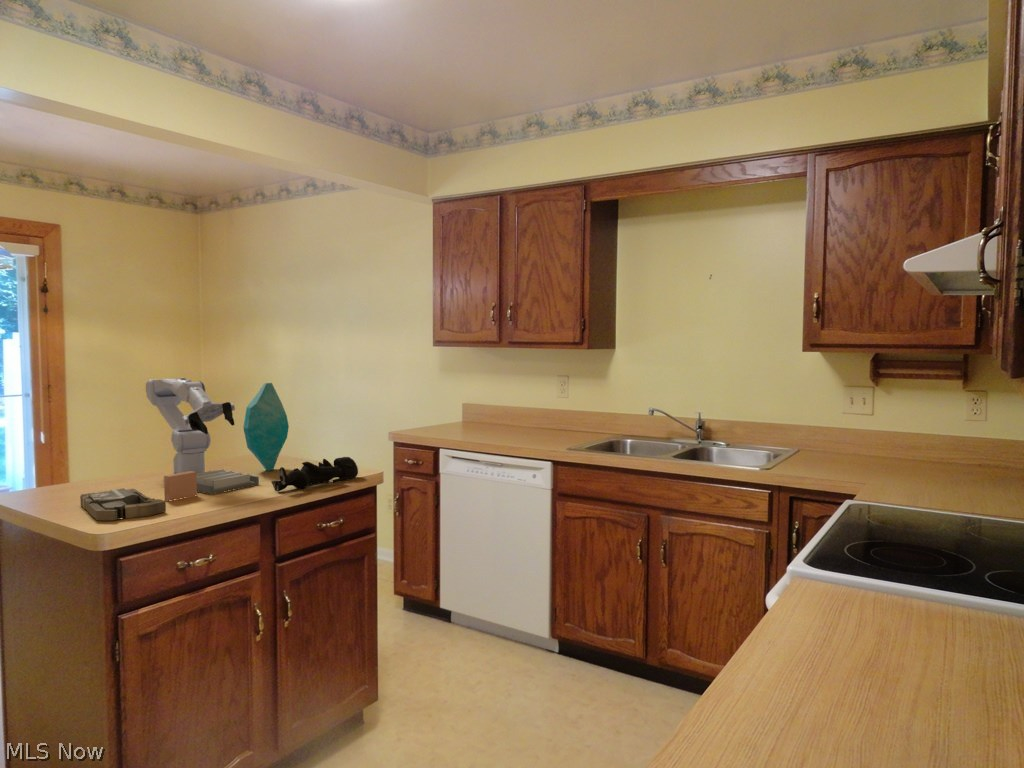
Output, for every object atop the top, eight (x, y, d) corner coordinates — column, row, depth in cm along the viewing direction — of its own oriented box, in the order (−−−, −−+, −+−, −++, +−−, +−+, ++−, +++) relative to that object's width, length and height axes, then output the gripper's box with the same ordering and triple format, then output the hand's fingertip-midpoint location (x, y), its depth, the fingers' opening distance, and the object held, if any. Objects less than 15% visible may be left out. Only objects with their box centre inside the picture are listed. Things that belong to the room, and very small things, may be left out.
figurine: (269, 493, 193) (267, 466, 193) (351, 477, 217) (349, 453, 217) (286, 494, 188) (284, 466, 188) (368, 478, 212) (366, 453, 212)
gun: (141, 484, 184) (79, 493, 174) (167, 500, 167) (99, 510, 156) (142, 498, 185) (79, 507, 174) (167, 515, 167) (100, 526, 157)
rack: (177, 487, 196) (176, 475, 196) (224, 478, 210) (224, 467, 210) (211, 494, 187) (211, 482, 187) (258, 484, 201) (258, 473, 201)
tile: (164, 500, 181) (163, 475, 180) (191, 494, 187) (191, 470, 187) (169, 501, 179) (169, 476, 179) (196, 496, 186) (196, 471, 186)
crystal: (241, 469, 224) (239, 382, 222) (281, 465, 232) (280, 381, 230) (252, 475, 214) (251, 384, 212) (294, 470, 223) (292, 383, 221)
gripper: (175, 401, 193) (191, 423, 185) (224, 387, 202) (242, 407, 193) (179, 420, 197) (195, 443, 188) (227, 405, 205) (245, 427, 197)
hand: (219, 426), depth 191 cm, fingers open, 7 cm apart
